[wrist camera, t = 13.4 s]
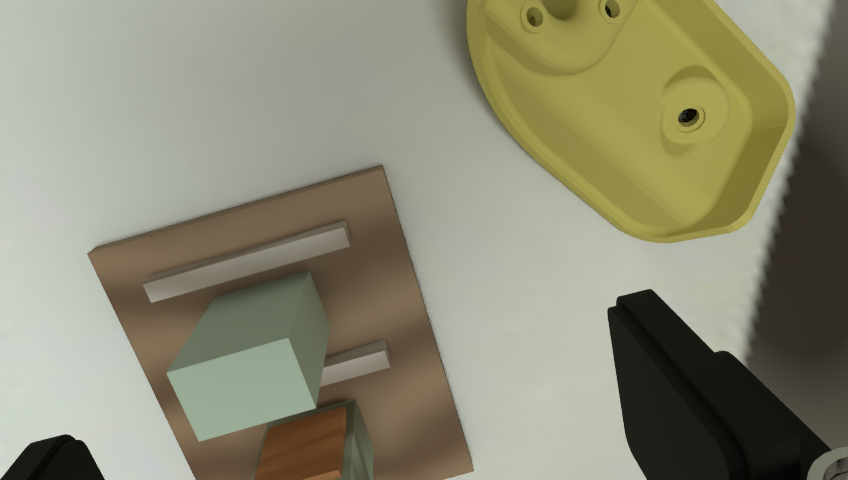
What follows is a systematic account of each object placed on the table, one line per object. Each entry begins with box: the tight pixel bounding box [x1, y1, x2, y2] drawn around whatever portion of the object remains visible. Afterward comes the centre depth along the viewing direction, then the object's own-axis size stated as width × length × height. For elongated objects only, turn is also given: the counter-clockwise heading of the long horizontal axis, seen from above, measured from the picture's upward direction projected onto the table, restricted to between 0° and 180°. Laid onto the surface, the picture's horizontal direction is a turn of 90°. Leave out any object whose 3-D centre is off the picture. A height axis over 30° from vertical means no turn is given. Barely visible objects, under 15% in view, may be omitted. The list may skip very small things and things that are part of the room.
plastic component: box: [466, 0, 796, 243], centre depth 35 cm, size 20×7×10 cm
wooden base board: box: [87, 165, 474, 480], centre depth 36 cm, size 22×18×10 cm
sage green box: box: [166, 270, 330, 442], centre depth 34 cm, size 4×6×9 cm
